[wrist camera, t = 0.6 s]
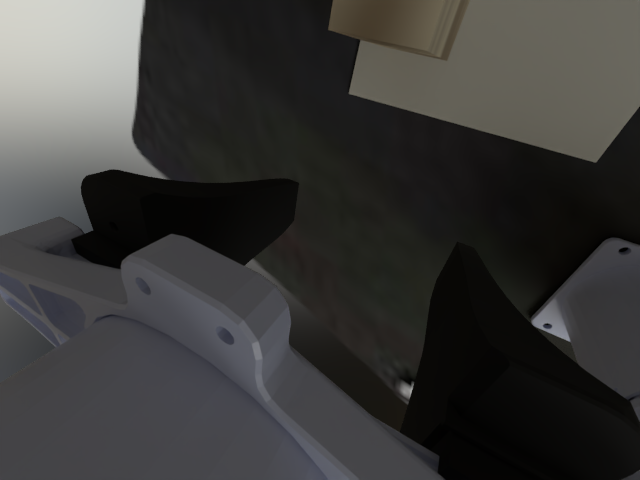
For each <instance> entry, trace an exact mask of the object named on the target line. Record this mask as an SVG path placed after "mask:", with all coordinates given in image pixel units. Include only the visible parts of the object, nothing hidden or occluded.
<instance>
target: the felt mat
mask: <svg viewBox="0 0 640 480" xmlns="http://www.w3.org/2000/svg"><path fill="white" fill-rule="evenodd" d="M349 94H351V95H355V96H359V97H362V98H366V99H369V100H373V101H377V102H380V103H384V104H387V105H391V106H394V107H398V108H402V109H405V110H409V111H412V112H416V113H420V114H423V115H427V116H430V117H434V118H437V119H441V120H445V121H448V122H452V123H455V124H459V125H462V126H466V127H470V128H473V129H477V130H480V131H484V132H488V133H491V134H495V135H498V136H502V137H505V138H509V139H513V140H516V141H520V142H523V143H527V144H531V145H534V146H538V147H541V148H545V149H548V150H552V151H556V152H559V153H563V154H566V155H570V156H574V157H577V158H581V159H584V160H588V161H591V162H595V163H596V162H597V161H598V159H599V158H600V157H601V155H602V154H603V153H604V152H605V150H606V149H607V148H608V146H609V145H610V144H611V143H612V141H613V140H614V139H615V137H616V136H617V135H618V133H619V132H620V131H621V130H622V128H623V127H624V126H625V124H626V123H627V122H628V121H629V119H630V118H631V117H632V115H633V114H634V113H635V112H636V110H637V109H638V108H639V106H640V0H470V2H469V4H468V7H467V10H466V12H465V15H464V18H463V20H462V23H461V25H460V28H459V31H458V33H457V36H456V39H455V41H454V44H453V47H452V49H451V52H450V54H449V57H448V60H447V61H445V60H440V59H436V58H431V57H427V56H422V55H418V54H413V53H409V52H404V51H400V50H395V49H391V48H386V47H382V46H379V45H376V44H372V43H369V42H366V41H363V40H360V45H359V49H358V54H357V58H356V63H355V67H354V72H353V77H352V81H351V86H350V90H349Z"/></svg>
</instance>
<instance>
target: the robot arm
mask: <svg viewBox="0 0 640 480" xmlns="http://www.w3.org/2000/svg"><path fill="white" fill-rule="evenodd" d="M298 186H299V183H298V182H295V181H292V180H290V179H267V180H258V181H247V182H233V183H196V182H183V181H174V180H166V179H160V178H153V177H148V176H143V175H138V174H133V173H129V172H124V171H120V170H108V171H104V172H100V173H96V174H92V175H88V176H86V177H85V178H84V179H83V181H82V185H81V194H82V197H83V201H84V204H85V207H86V210H87V213H88V216H89V219H90V222H91V224H92V227H93V231H91V232H88V233H86V234H84V232H83V231H82V230H81V229H80V228H79V227H78V226H76V225H74V224H72V223H71V222H69V221H67V220H65V219H64V218H62V217H56V218H54V219H50V220H47V221H45V222H41V223H38V224H35V225H32V226H29V227H26V228H23V229H20V230H17V231H14V232H11V233H8V234H5V235H2V236H0V296H1V297H2V299H3V300H4V302H5V303H6V304H7V305H8V306H10V307H11V308H12V309H13V310H14V311H16V312H17V313H18V314H19V315H20V316H22V317H23V318H24V319H25V320H26V321H27V322H29V323H30V324H31V325H32V326H33V327H34V328H35V329H37V330H38V331H39V332H40V333H41V334H42V335H43V336H44V337H45V338H47V339H48V340H49V341H50V342H51V343H52V344H53V345H54V346H55V347H56V348H55V349H53V350H52V351H50V352H49V353H47V354H45V355H44V356H42V357H41V358H39V359H38V360H36V361H34V362H33V363H31V364H30V365H28V366H26V367H25V368H23V369H22V370H20V371H18V372H17V373H15V374H14V375H12V376H11V377H9V378H8V379H6V380H4V381H3V382H1V383H0V480H640V245H638V244H635V243H632V242H629V241H626V240H623V239H620V238H609V239H606V240H605V241H603V242H602V243H601V245H600V246H599V247H598V248H597V249H596V250H595V251H594V252H593V253H592V254H591V255H590V256H589V257H588V258H587V259H586V260H585V261H584V262H583V263H582V264H581V266H580V267H579V268H578V269H577V270H576V271H575V272H574V273H573V274H572V275H571V276H570V277H569V278H568V279H567V280H566V281H565V282H564V283H563V284H562V286H561V287H560V288H559V289H558V290H557V291H556V292H555V293H554V294H553V295H552V296H551V297H550V298H549V299H548V300H547V301H546V302H545V303H544V304H543V306H542V307H541V308H540V309H539V310H538V311H537V312H536V313H535V314H534V315H533V316H532V317H531V322H532V324H533V325H534V326H535V327H537V328H540V329H542V330H544V331H547V332H549V333H551V334H553V335H556V336H558V337H560V338H562V339H565V340H567V341H569V342H571V344H572V347H573V350H574V353H575V356H576V359H577V362H578V364H579V365H578V364H577V363H576V362H574V361H573V360H572V359H571V358H569V357H568V356H567V355H565V354H564V353H563V352H562V351H561V350H559V349H558V348H557V347H556V346H555V345H553V344H552V343H551V342H550V341H549V340H548V339H547V338H546V337H545V336H543V335H542V334H541V333H540V332H539V331H538V330H537V329H536V328H535V327H534V326H533V325H532V324H531V323H530V322H529V321H528V320H527V319H526V318H525V317H524V316H523V315H522V314H521V313H520V312H519V311H518V310H517V308H516V307H515V306H514V305H513V304H512V303H511V302H510V300H509V299H508V298H507V297H506V295H505V294H504V293H503V291H502V290H501V289H500V287H499V286H498V285H497V283H496V282H495V280H494V279H493V278H492V276H491V274H490V273H489V271H488V270H487V268H486V267H485V265H484V263H483V262H482V260H481V258H480V257H479V255H478V253H477V252H476V250H475V249H474V248H473V247H470V246H467V245H465V244H462V243H459V242H457V244H456V245H455V247H454V249H453V251H452V253H451V255H450V256H449V258H448V260H447V262H446V264H445V266H444V267H443V269H442V271H441V273H440V275H439V277H438V278H437V280H436V283H435V287H434V290H433V293H432V297H431V301H430V307H429V314H428V321H427V328H426V335H425V343H424V348H423V353H422V357H421V361H420V365H419V368H418V372H417V376H416V379H415V383H414V386H413V390H412V393H411V397H410V400H409V404H408V407H407V410H406V414H405V417H404V421H403V423H402V427H401V430H400V432H398V431H396V430H395V429H393V428H391V427H390V426H388V425H386V424H384V423H383V422H381V421H379V420H378V419H376V418H374V417H373V416H371V415H370V414H369V413H368V412H367V411H365V410H364V409H363V408H362V407H361V406H360V405H358V404H357V403H356V402H355V401H354V400H353V399H351V398H350V397H349V396H348V395H347V394H346V393H344V392H343V391H342V390H341V389H340V388H339V387H338V386H336V385H335V384H334V383H333V382H332V381H331V380H330V379H328V378H327V377H326V376H325V375H324V374H323V373H321V372H320V371H319V370H318V369H317V368H316V367H315V366H313V365H312V364H311V363H310V362H309V361H308V360H306V359H305V358H304V357H303V356H302V355H301V354H299V353H298V352H297V351H296V350H295V349H294V348H293V347H291V346H290V345H289V332H290V326H291V319H290V313H289V306H288V303H287V301H286V300H285V299H284V297H283V295H282V294H281V292H280V291H279V290H278V288H277V286H275V285H274V284H273V283H271V282H270V281H269V280H268V279H266V278H265V277H264V276H262V275H261V274H259V273H257V272H255V271H253V270H251V269H249V268H247V267H245V265H246V264H247V263H248V262H249V261H250V260H251V259H253V258H254V257H255V256H256V255H257V254H259V253H260V252H261V251H262V250H264V249H265V248H266V247H267V246H268V245H270V244H271V243H272V242H273V241H275V240H276V239H277V238H278V237H279V236H280V235H282V234H283V233H284V231H285V230H286V229H287V228H288V227H289V226H290V225H291V223H292V222H293V221H294V216H295V208H296V201H297V193H298ZM624 247H628V250H626V251H624V252H618V251H619V249H621V248H624ZM545 323H548V324H550V325H544V324H545Z"/></svg>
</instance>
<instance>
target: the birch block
mask: <svg viewBox="0 0 640 480" xmlns="http://www.w3.org/2000/svg"><path fill="white" fill-rule="evenodd" d="M469 2H470V0H333V3H332V10H331V16H330V22H329V28H328V30H331V31H334V32H337V33H340V34H344V35H347V36H350V37H353V38H356V39H360V40H363V41H366V42H369V43H372V44H376V45H379V46H382V47H386V48H391V49H395V50H400V51H404V52H409V53H413V54H418V55H422V56H427V57H431V58H436V59H440V60H445V61H447V60H448V57H449V54H450V52H451V49H452V47H453V44H454V41H455V39H456V36H457V33H458V31H459V28H460V25H461V23H462V20H463V18H464V15H465V12H466V10H467V7H468V4H469Z"/></svg>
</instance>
